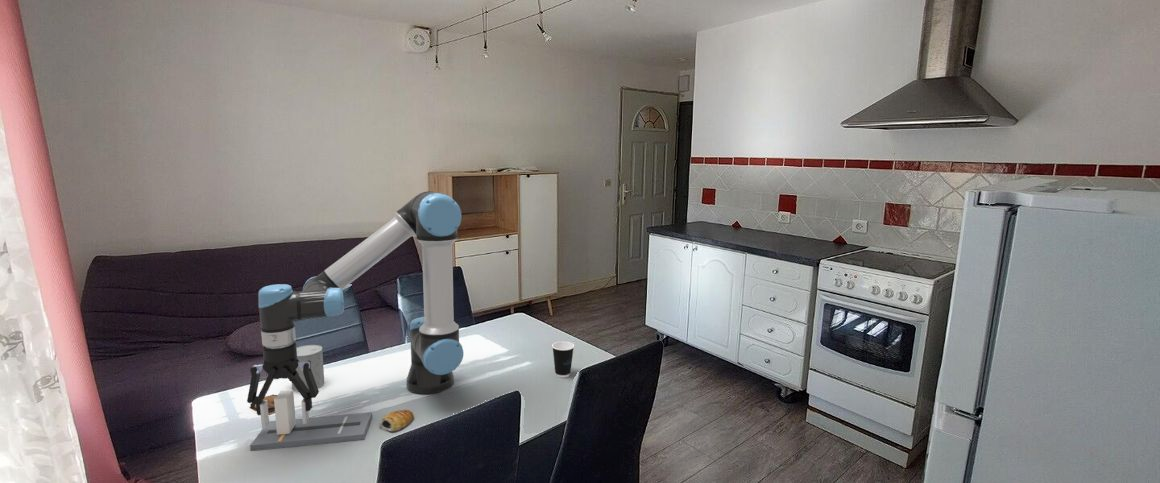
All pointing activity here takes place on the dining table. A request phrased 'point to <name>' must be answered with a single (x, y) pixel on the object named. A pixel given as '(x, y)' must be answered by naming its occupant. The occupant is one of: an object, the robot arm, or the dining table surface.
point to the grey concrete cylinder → (316, 360)
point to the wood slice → (269, 401)
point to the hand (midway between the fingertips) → (286, 423)
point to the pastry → (396, 420)
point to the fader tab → (285, 412)
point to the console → (315, 431)
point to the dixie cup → (563, 358)
